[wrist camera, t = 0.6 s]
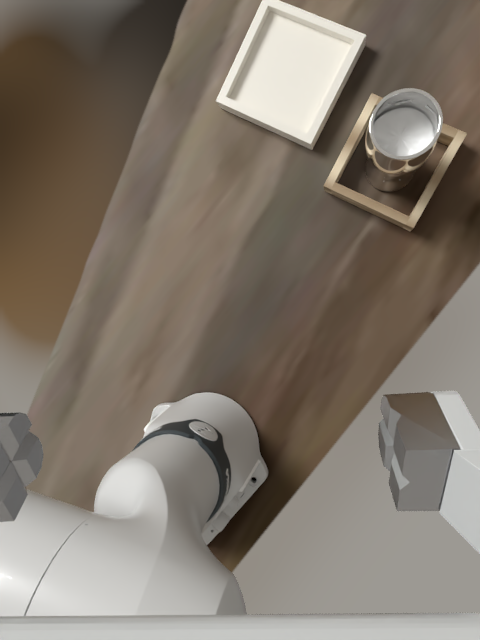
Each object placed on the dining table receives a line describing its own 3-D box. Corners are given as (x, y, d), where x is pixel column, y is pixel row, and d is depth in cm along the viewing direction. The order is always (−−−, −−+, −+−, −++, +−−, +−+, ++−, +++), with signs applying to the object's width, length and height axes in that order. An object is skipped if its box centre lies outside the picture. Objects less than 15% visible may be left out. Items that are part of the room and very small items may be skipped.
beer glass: (353, 155, 57) (355, 108, 43) (406, 129, 55) (427, 71, 41) (374, 204, 57) (383, 174, 42) (428, 180, 55) (457, 139, 41)
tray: (312, 150, 58) (310, 144, 56) (220, 108, 61) (215, 100, 58) (365, 45, 56) (366, 34, 54) (268, 6, 58) (264, -6, 56)
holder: (410, 231, 56) (413, 228, 53) (324, 191, 58) (323, 185, 55) (460, 141, 54) (466, 133, 51) (370, 103, 56) (371, 93, 53)
